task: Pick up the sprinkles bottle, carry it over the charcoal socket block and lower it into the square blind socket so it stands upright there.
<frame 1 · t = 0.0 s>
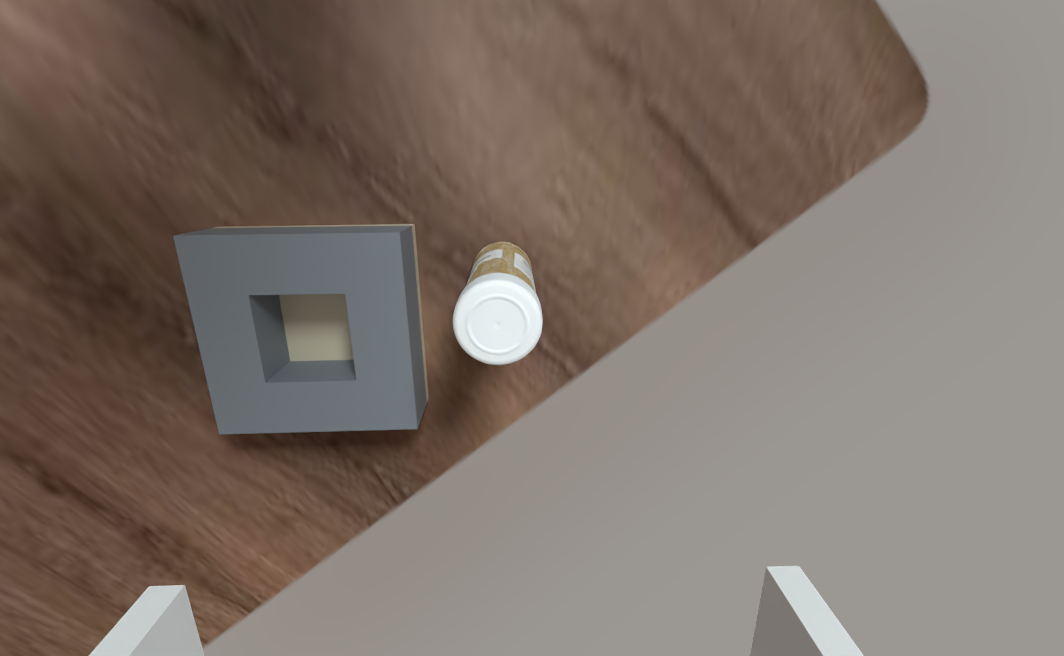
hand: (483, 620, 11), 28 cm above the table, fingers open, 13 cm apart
sprinkles bottle: (502, 270, 37), on the table
socket block: (330, 317, 38), on the table
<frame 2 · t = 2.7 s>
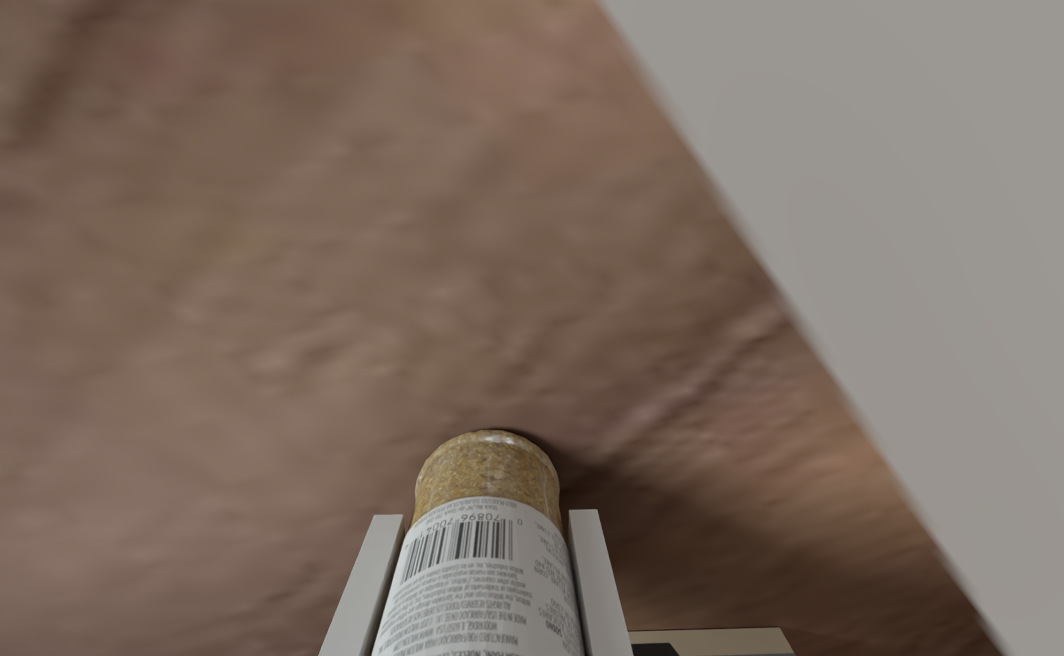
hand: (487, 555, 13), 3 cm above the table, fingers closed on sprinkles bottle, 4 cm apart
sprinkles bottle: (490, 482, 16), on the table, touching gripper
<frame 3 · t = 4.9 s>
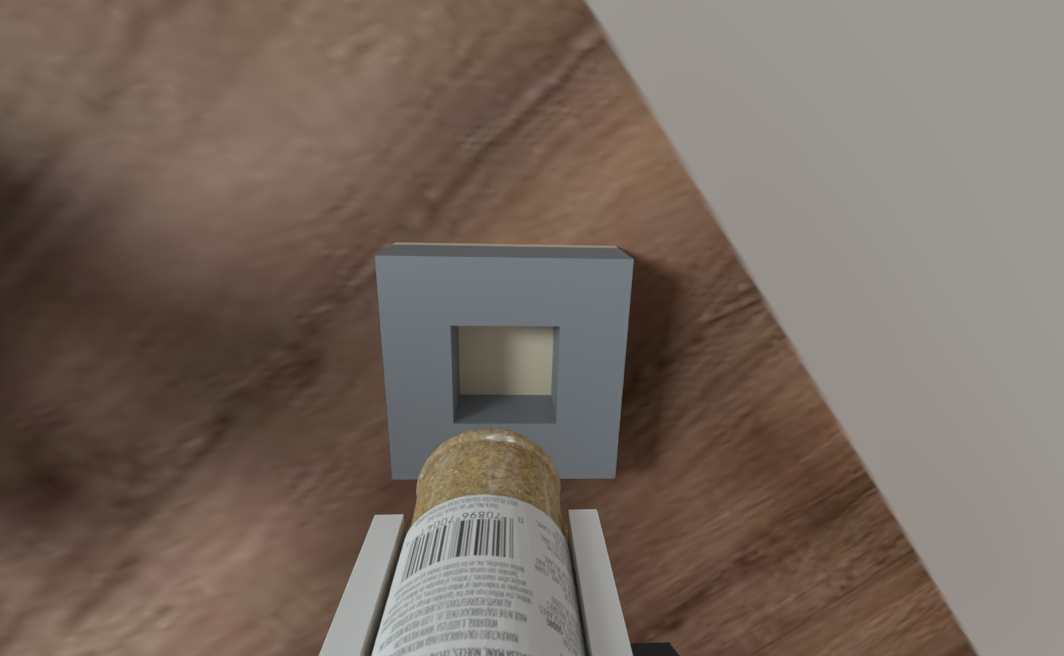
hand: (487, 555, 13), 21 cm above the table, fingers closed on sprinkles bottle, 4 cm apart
sprinkles bottle: (491, 480, 16), point 18 cm above the table, touching gripper
socket block: (506, 347, 33), on the table
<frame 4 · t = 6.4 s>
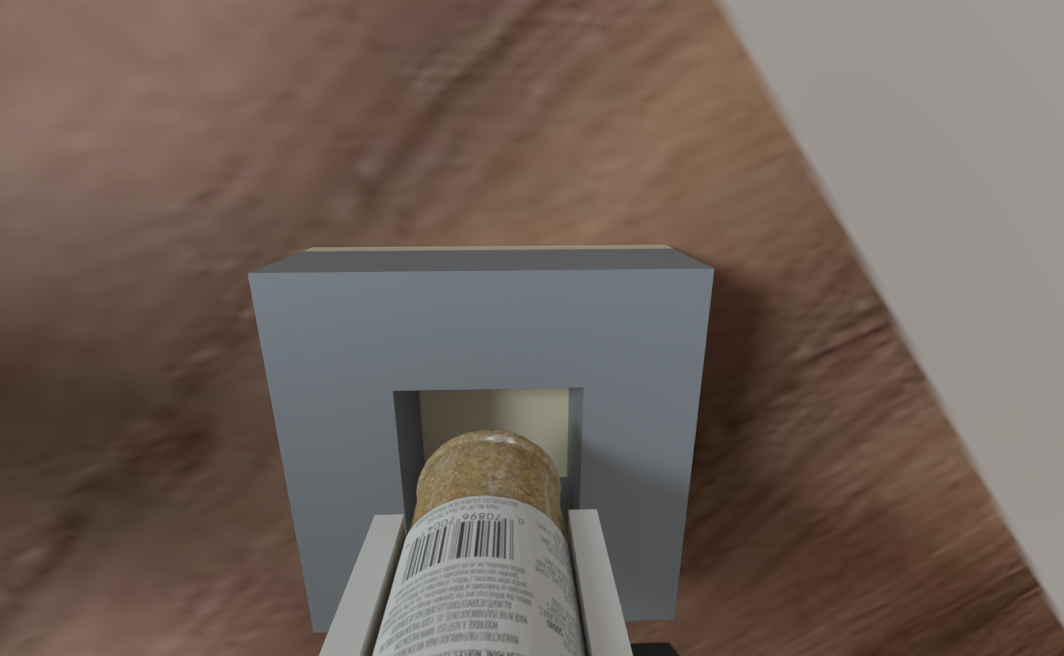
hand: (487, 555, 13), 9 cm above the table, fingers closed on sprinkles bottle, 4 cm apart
sprinkles bottle: (491, 481, 16), point 6 cm above the table, touching gripper
socket block: (495, 404, 22), on the table
when the fingers open (6 cm above the table, at t = 7.2 s): sprinkles bottle drops 2 cm, resting on socket block.
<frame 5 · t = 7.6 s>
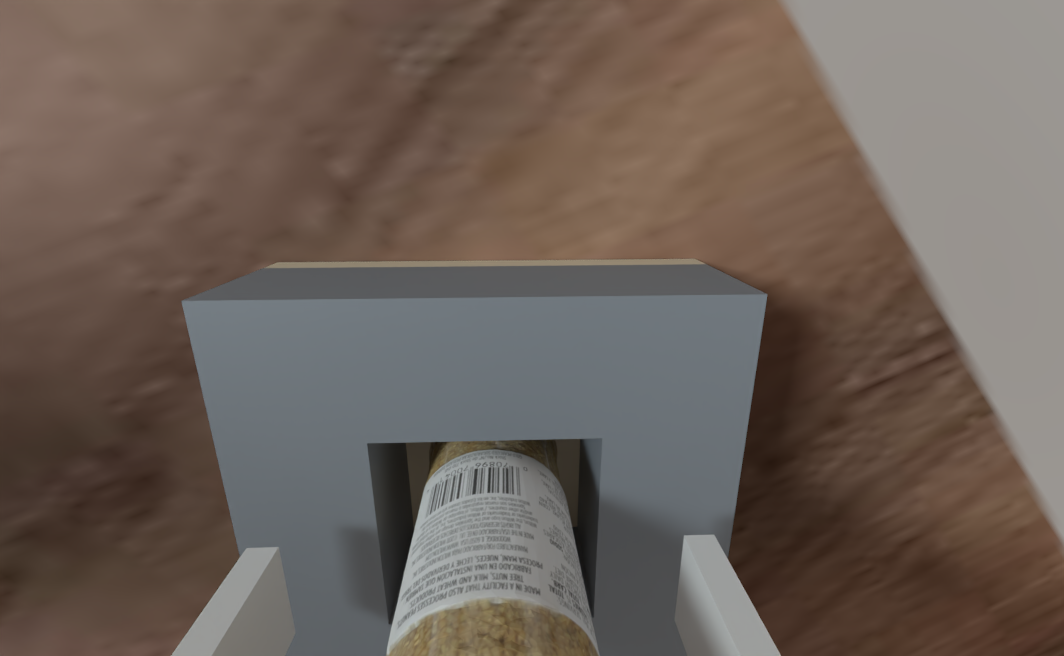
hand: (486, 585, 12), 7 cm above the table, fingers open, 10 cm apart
sprinkles bottle: (495, 448, 18), point 1 cm above the table, touching socket block
socket block: (494, 443, 19), on the table
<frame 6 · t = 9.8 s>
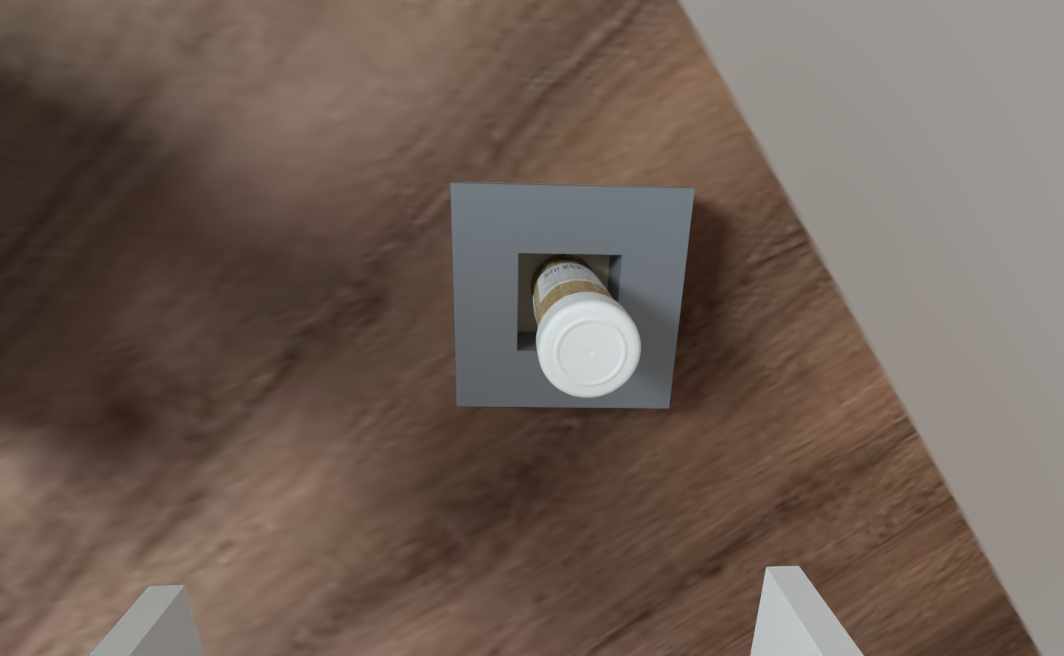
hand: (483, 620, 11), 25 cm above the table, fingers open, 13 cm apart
sprinkles bottle: (563, 284, 34), point 1 cm above the table, touching socket block
socket block: (561, 286, 35), on the table
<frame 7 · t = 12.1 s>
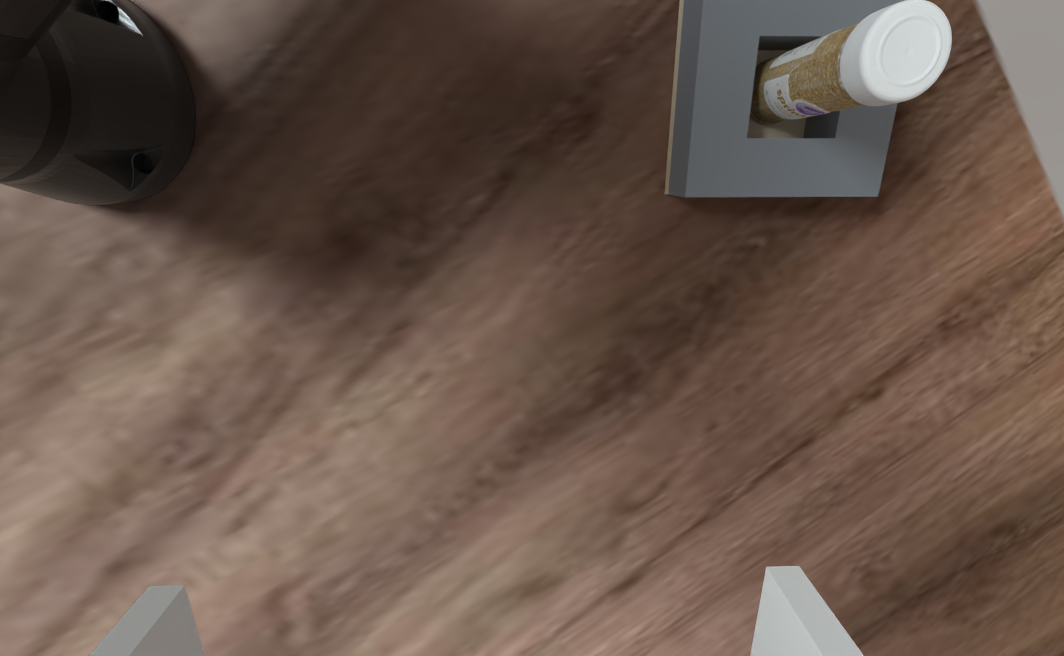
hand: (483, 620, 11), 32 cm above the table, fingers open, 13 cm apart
sprinkles bottle: (769, 92, 37), point 1 cm above the table, touching socket block
socket block: (762, 98, 38), on the table
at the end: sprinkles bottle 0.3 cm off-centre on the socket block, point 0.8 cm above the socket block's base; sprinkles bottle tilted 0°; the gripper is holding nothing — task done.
